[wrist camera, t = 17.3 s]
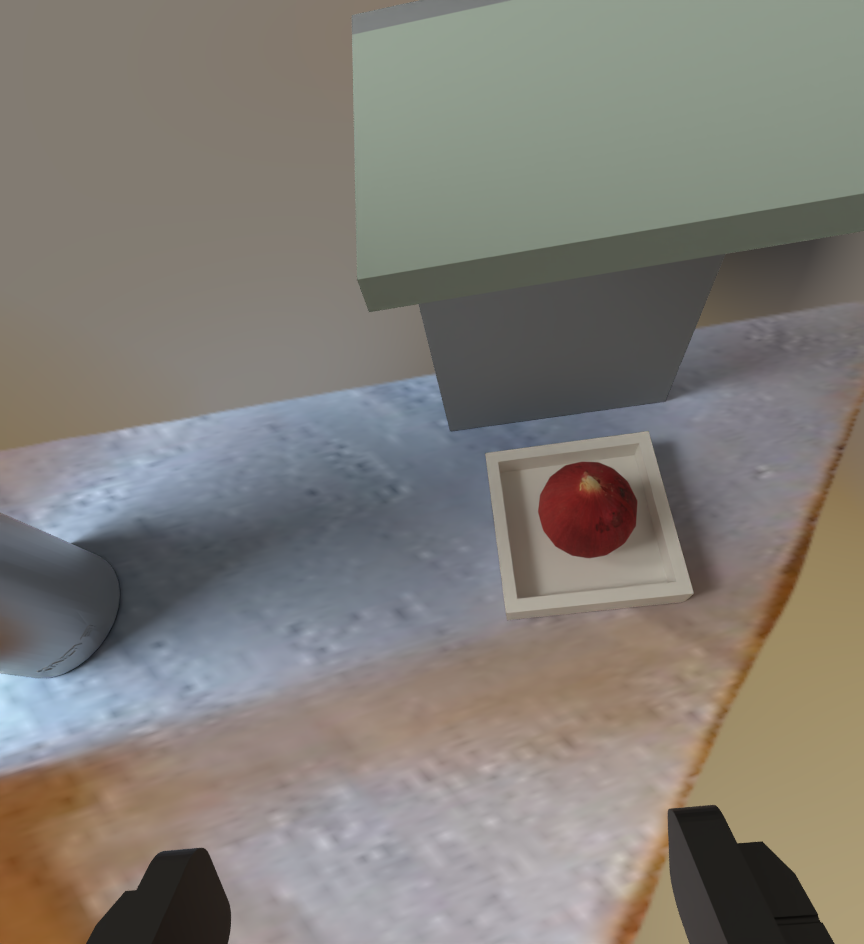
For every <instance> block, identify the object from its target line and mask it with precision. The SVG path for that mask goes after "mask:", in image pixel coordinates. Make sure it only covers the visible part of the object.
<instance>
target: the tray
mask: <svg viewBox="0 0 864 944" xmlns="http://www.w3.org/2000/svg"><path fill="white" fill-rule="evenodd" d="M485 456H486V463H487V471H488V479H489V486H490V494H491V502H492V509H493V517H494V525H495V533H496V540H497V548H498V556H499V563H500V571H501V579H502V586H503V594H504V602H505V610H506V616H507V620H516V619H525V618H535V617H544V616H554V615H564V614H573V613H583V612H593V611H602V610H612V609H621V608H631V607H641V606H650V605H660V604H670V603H679V602H685V601H686V600H687V599H688V598H689V597H690V596H691V595H693V594H694V593H693V589H692V585H691V582H690V578H689V575H688V571H687V568H686V564H685V560H684V557H683V553H682V550H681V546H680V542H679V539H678V535H677V532H676V528H675V525H674V521H673V517H672V514H671V510H670V507H669V503H668V499H667V496H666V492H665V489H664V485H663V481H662V478H661V474H660V471H659V467H658V464H657V460H656V456H655V453H654V449H653V446H652V442H651V438H650V435H649V431H646V432H638V433H631V434H623V435H616V436H609V437H601V438H594V439H586V440H579V441H572V442H564V443H557V444H549V445H542V446H534V447H527V448H520V449H512V450H505V451H497V452H490V453H485ZM578 462H599V463H601V464H604V465H606V466H609V467H611V468H613V469H615V470H616V471H617V472H618V473H619V474H620V475H621V476H622V477H624V478H625V479H626V480H627V481H628V483H629V485H630V487H631V489H632V491H633V493H634V495H635V497H636V499H637V501H638V502H637V517H636V527H635V528H634V530H633V531H632V533H631V535H630V536H629V538H628V539H627V541H626V542H625V543H624V544H623V545H622V546H620V547H619V548H617V549H616V550H614V551H612V552H611V553H609V554H608V555H605V556H600V557H594V558H583V557H577V556H571V555H570V554H568V553H566V552H564V551H563V550H561V549H559V548H557V547H555V545H554V544H553V543H552V541H551V540H550V539H549V538H548V536H547V535H546V534H545V532H544V531H543V528H542V525H541V521H540V517H539V514H538V507H539V499H540V494H541V492H542V490H543V489H544V487H545V485H546V483H547V481H548V480H549V478H550V477H551V476H552V475H553V474H555V473H556V472H557V471H558V470H560V469H561V468H562V467H564V466H565V465H569V464H573V463H578Z"/></svg>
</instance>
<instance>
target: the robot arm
mask: <svg viewBox="0 0 864 944" xmlns="http://www.w3.org/2000/svg"><path fill="white" fill-rule="evenodd" d="M119 597H120V591H119V582H118V579H117V576H116V574H115V571H114V570H113V568H112V567H111V566H110V564H109V563H108V562H107V561H106V560H104V559H103V558H102V557H100V556H98V555H96V554H94V553H91V552H89V551H87V550H84V549H82V548H80V547H78V546H75V545H73V544H71V543H68V542H66V541H64V540H62V539H60V538H58V537H55V536H53V535H51V534H48V533H46V532H44V531H41V530H39V529H37V528H35V527H32V526H30V525H28V524H25V523H23V522H21V521H18V520H16V519H14V518H12V517H9V516H7V515H5V514H2V513H0V674H8V675H15V676H23V677H31V678H51V677H54V676H58V675H61V674H64V673H66V672H68V671H70V670H72V669H74V668H76V667H77V666H79V665H80V664H81V663H83V662H84V661H85V660H87V659H88V658H89V657H90V656H91V655H92V654H93V653H94V652H95V651H96V650H97V649H98V648H99V646H100V645H101V644H102V642H103V641H104V639H105V638H106V636H107V635H108V633H109V631H110V629H111V627H112V625H113V623H114V621H115V618H116V614H117V611H118V607H119ZM668 837H669V865H670V876H671V883H672V888H673V893H674V897H675V901H676V904H677V908H678V911H679V915H680V917H681V920H682V923H683V926H684V929H685V932H686V935H687V938H688V940H689V943H690V944H834V942H833V940H832V939H831V937H830V935H829V933H828V931H827V930H826V928H825V926H824V925H823V923H821V922H820V920H819V918H818V914H817V912H816V910H815V908H814V907H813V905H812V903H811V901H810V900H809V898H808V896H807V894H806V892H805V891H804V889H803V887H802V886H801V884H800V882H799V880H798V878H797V877H796V875H795V873H794V872H793V871H792V870H791V869H790V868H788V867H787V866H786V865H785V864H784V863H783V862H782V861H781V860H780V859H779V858H778V857H777V856H776V855H775V854H774V853H773V852H772V851H771V850H770V849H769V848H768V847H767V846H766V845H765V844H764V843H763V842H750V843H738V844H737V842H736V840H735V838H734V836H733V834H732V832H731V830H730V828H729V826H728V824H727V822H726V820H725V818H724V816H723V814H722V812H721V811H720V809H719V808H718V807H717V806H716V805H708V806H696V807H685V808H673V809H669V810H668ZM230 928H231V910H230V904H229V901H228V899H227V896H226V894H225V892H224V889H223V887H222V884H221V882H220V880H219V877H218V875H217V872H216V870H215V867H214V865H213V863H212V860H211V858H210V855H209V853H208V851H207V850H206V849H204V848H194V849H182V850H171V851H162V852H160V853H158V854H157V855H156V856H155V857H154V859H153V860H152V861H151V863H150V865H149V867H148V869H147V870H146V872H145V874H144V876H143V878H142V880H141V882H140V884H139V886H138V888H137V890H133V891H125V892H124V893H123V894H122V896H121V897H120V898H119V899H118V900H117V901H116V903H115V904H114V905H113V906H112V907H111V908H110V910H109V911H108V912H107V913H106V914H105V915H104V917H103V918H102V919H101V920H100V921H99V922H98V923H97V925H96V926H95V928H94V930H93V932H92V934H91V936H90V937H89V939H88V941H87V943H86V944H228V940H229V935H230Z"/></svg>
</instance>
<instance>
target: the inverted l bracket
mask: <svg viewBox="0 0 864 944" xmlns="http://www.w3.org/2000/svg"><path fill="white" fill-rule="evenodd" d="M352 51H353V99H354V146H355V147H354V150H355V199H356V247H357V280H358V283H359V286H360V289H361V292H362V294H363V297H364V299H365V302H366V305H367V308H368V311H369V312H373V311H379V310H385V309H391V308H397V307H404V306H410V305H416V304H419V307H420V312H421V315H422V319H423V323H424V328H425V332H426V335H427V340H428V344H429V348H430V352H431V356H432V360H433V364H434V368H435V372H436V376H437V380H438V384H439V388H440V393H441V397H442V401H443V405H444V409H445V413H446V417H447V421H448V425H449V429H450V431H456V430H463V429H471V428H478V427H485V426H492V425H499V424H506V423H513V422H521V421H528V420H535V419H542V418H549V417H556V416H564V415H571V414H578V413H585V412H592V411H599V410H607V409H614V408H621V407H628V406H635V405H642V404H650V403H657V402H664V401H666V398H667V396H668V393H669V391H670V389H671V386H672V384H673V381H674V379H675V376H676V374H677V371H678V369H679V366H680V364H681V362H682V359H683V357H684V354H685V352H686V349H687V347H688V344H689V342H690V340H691V337H692V335H693V332H694V330H695V327H696V325H697V322H698V320H699V317H700V315H701V313H702V310H703V308H704V305H705V303H706V300H707V298H708V295H709V293H710V291H711V288H712V286H713V283H714V281H715V278H716V276H717V273H718V271H719V268H720V266H721V264H722V261H723V258H724V256H725V254H726V253H733V252H739V251H745V250H751V249H757V248H763V247H769V246H776V245H781V244H788V243H794V242H800V241H806V240H812V239H818V238H824V237H831V236H837V235H843V234H849V233H855V232H860V231H864V0H419V1H415V2H410V3H406V4H401V5H396V6H392V7H387V8H383V9H378V10H374V11H369V12H365V13H360V14H356V15H352Z"/></svg>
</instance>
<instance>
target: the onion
mask: <svg viewBox="0 0 864 944" xmlns="http://www.w3.org/2000/svg"><path fill="white" fill-rule="evenodd" d="M637 502H638V501H637V499H636V497H635V495H634V493H633V491H632V489H631V487H630V485H629V483H628V481H627V480H626V479H625V478H624V477H622V476H621V475H620V474H619V473H618V472H617V471H616V470H615V469H613V468H611V467H609V466H606V465H604V464H601V463H599V462H578V463H573V464H569V465H565V466H564V467H562V468H561V469H560V470H558V471H557V472H556V473H555V474H553V475H552V476H551V477H550V478H549V480H548V481H547V483H546V485H545V487H544V489H543V490H542V492H541V494H540V499H539V507H538V514H539V517H540V521H541V525H542V528H543V531H544V532H545V534H546V535H547V536H548V538H549V539H550V540H551V541H552V543H553V544H554V545H555V547H557V548H559V549H561V550H563V551H564V552H566V553H568V554H570V555H571V556H577V557H583V558H594V557H600V556H605V555H608V554H609V553H611V552H612V551H614V550H616V549H617V548H619V547H620V546H622V545H623V544H624V543H625V542H626V541H627V539H628V538H629V536H630V535H631V533H632V531H633V530H634V528H635V527H636V517H637Z"/></svg>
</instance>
